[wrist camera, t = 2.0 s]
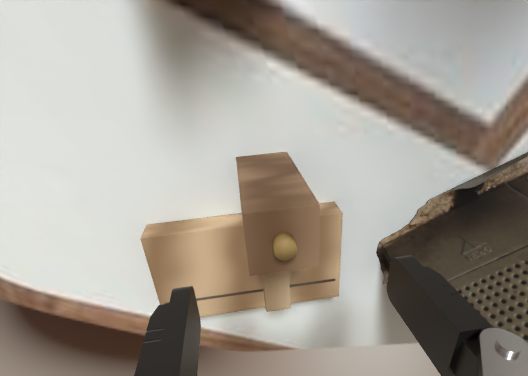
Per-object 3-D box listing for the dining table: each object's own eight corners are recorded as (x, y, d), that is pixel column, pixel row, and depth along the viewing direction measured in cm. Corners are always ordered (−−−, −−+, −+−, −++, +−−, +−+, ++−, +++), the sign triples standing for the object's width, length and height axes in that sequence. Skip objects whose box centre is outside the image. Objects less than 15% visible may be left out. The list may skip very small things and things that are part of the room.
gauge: (286, 151, 23) (324, 212, 14) (291, 270, 28) (321, 369, 19) (236, 157, 23) (242, 222, 14) (250, 276, 28) (261, 379, 19)
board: (334, 201, 26) (342, 213, 24) (331, 281, 29) (338, 296, 28) (146, 224, 24) (140, 238, 22) (169, 304, 28) (165, 322, 26)
